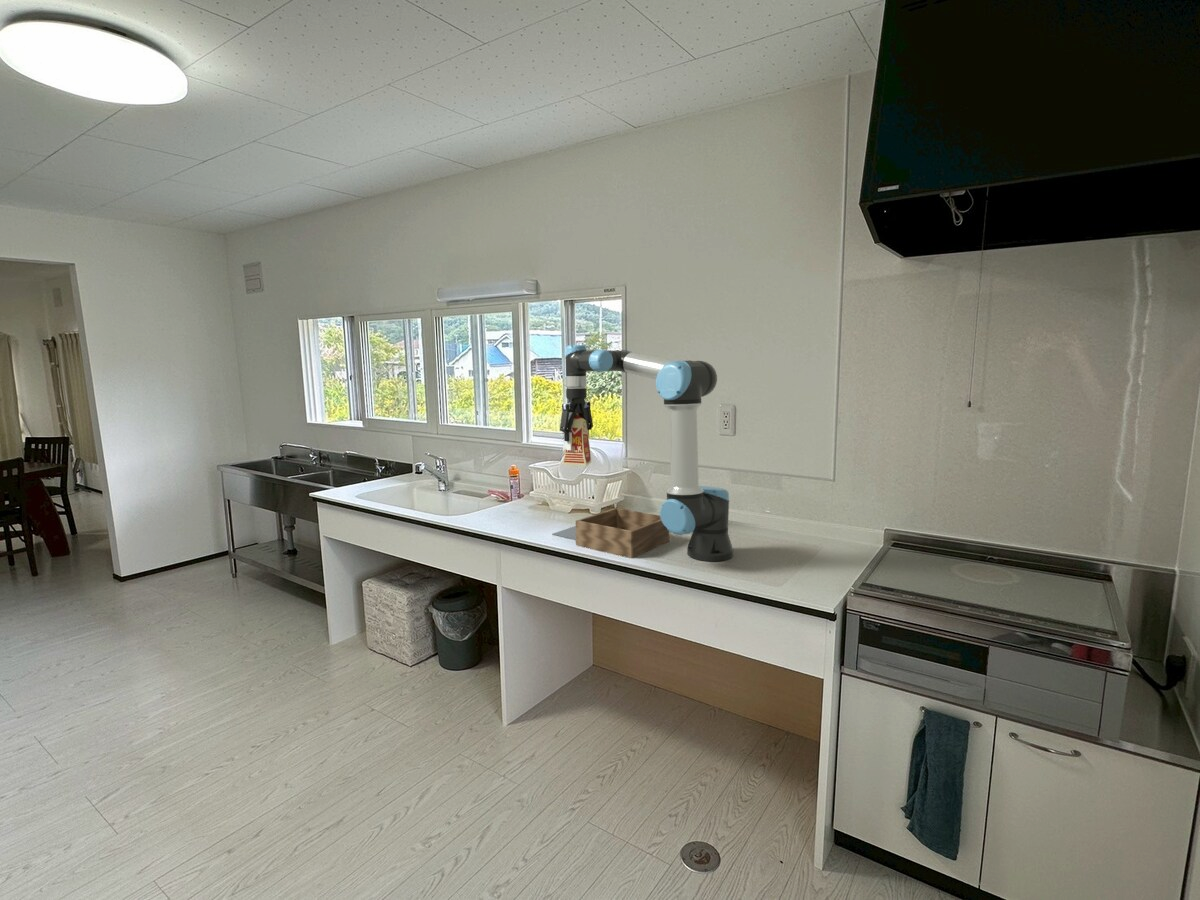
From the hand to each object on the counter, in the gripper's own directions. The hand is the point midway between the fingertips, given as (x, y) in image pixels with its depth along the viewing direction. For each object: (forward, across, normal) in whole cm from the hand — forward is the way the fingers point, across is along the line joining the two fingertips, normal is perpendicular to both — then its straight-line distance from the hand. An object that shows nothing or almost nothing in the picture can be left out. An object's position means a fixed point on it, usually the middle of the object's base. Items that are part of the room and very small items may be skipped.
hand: (577, 448), depth 228 cm
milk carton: (+6, 0, 0) cm, 6 cm away
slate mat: (+33, 0, 0) cm, 33 cm away
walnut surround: (+33, 0, +21) cm, 39 cm away
